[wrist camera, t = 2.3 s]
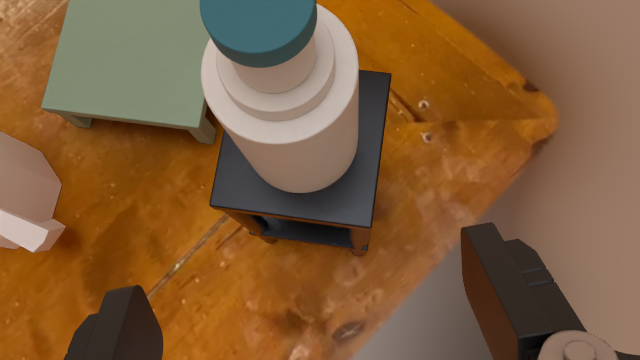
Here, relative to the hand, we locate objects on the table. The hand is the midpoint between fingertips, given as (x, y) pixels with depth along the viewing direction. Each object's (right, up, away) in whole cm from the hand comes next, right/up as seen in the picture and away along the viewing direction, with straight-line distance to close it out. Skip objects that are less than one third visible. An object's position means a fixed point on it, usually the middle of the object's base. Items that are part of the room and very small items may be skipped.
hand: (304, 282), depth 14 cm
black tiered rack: (0, +1, +30) cm, 30 cm away
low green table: (-13, +12, +33) cm, 37 cm away
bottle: (-1, +5, +14) cm, 15 cm away
